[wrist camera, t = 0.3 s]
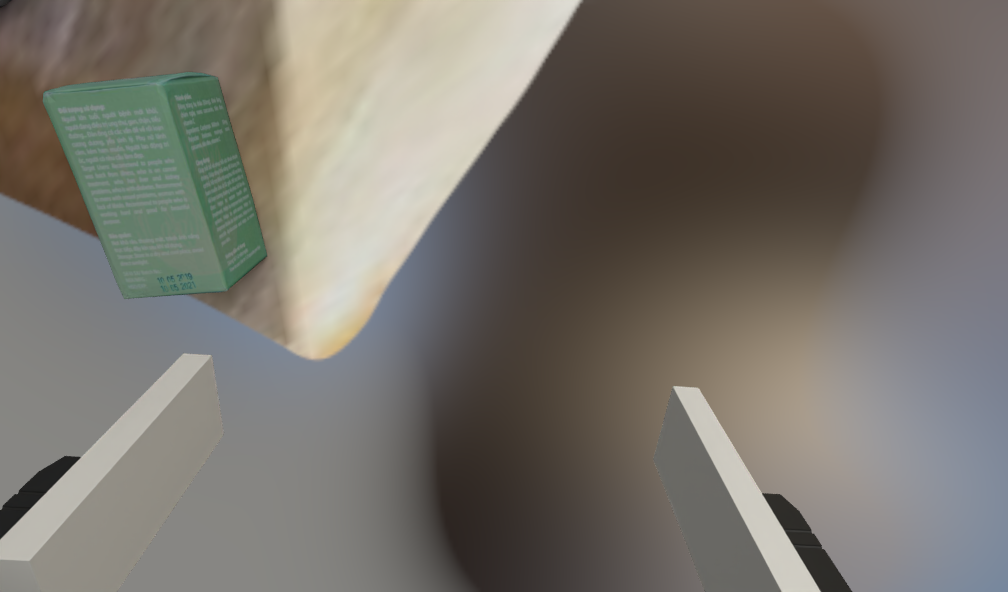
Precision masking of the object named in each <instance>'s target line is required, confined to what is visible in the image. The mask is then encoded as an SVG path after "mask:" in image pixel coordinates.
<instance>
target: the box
mask: <svg viewBox="0 0 1008 592" xmlns="http://www.w3.org/2000/svg"><path fill="white" fill-rule="evenodd" d="M43 103H44V106H45V108H46V110H47V112H48V115H49V117H50V119H51V122H52V124H53V126H54V129H55V131H56V133H57V136H58V138H59V141H60V143H61V145H62V148H63V150H64V153H65V155H66V157H67V160H68V162H69V165H70V167H71V169H72V172H73V174H74V177H75V179H76V182H77V184H78V187H79V189H80V192H81V194H82V197H83V199H84V202H85V204H86V207H87V209H88V212H89V214H90V217H91V219H92V222H93V224H94V226H95V229H96V231H97V234H98V236H99V239H100V242H101V244H102V247H103V249H104V252H105V254H106V257H107V259H108V262H109V264H110V267H111V270H112V272H113V275H114V277H115V280H116V282H117V284H118V286H119V288H120V291H121V292H122V295H123V297H124V299H129V298H142V297H157V296H170V295H185V294H199V293H214V292H224V291H227V290H228V289H229V288H230V287H232V286H233V285H234V284H235V283H236V282H237V281H239V280H240V279H241V278H242V277H243V276H244V275H246V274H247V273H248V272H249V271H250V270H251V269H253V268H254V267H255V266H256V265H257V264H258V263H260V262H261V261H262V260H263V259H264V258H265V257H267V253H266V249H265V245H264V241H263V237H262V233H261V229H260V225H259V221H258V217H257V213H256V210H255V206H254V202H253V198H252V195H251V191H250V188H249V184H248V181H247V178H246V174H245V171H244V167H243V164H242V160H241V157H240V153H239V150H238V147H237V143H236V140H235V136H234V133H233V130H232V126H231V123H230V120H229V116H228V112H227V109H226V105H225V102H224V98H223V94H222V91H221V87H220V84H219V80H218V77H215V76H211V75H208V74H203V73H194V72H185V73H178V74H169V75H159V76H150V77H140V78H130V79H120V80H110V81H101V82H91V83H82V84H75V85H67V86H63V87H59V88H55V89H51V90H48V91H45V92H44V94H43Z"/></svg>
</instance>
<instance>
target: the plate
mask: <svg viewBox="0 0 1008 592" xmlns="http://www.w3.org/2000/svg"><path fill="white" fill-rule="evenodd" d="M10 1H11V0H0V7H1V6H3V5H5V4H7V3H8V2H10Z"/></svg>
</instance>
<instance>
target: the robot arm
mask: <svg viewBox="0 0 1008 592" xmlns="http://www.w3.org/2000/svg"><path fill="white" fill-rule="evenodd" d="M223 435H224V432H223V425H222V419H221V413H220V405H219V399H218V392H217V386H216V379H215V373H214V367H213V359H212V355H199V354H183V355H181V357H180V358H179V359H178V360H177V361H176V362H175V363H174V364H173V365H172V366H171V367H170V368H169V369H168V370H167V371H166V372H165V373H164V374H163V375H162V376H161V377H160V378H159V379H158V380H157V381H156V382H155V383H154V384H153V385H152V386H151V387H150V388H149V389H148V390H147V391H146V392H145V393H144V394H143V395H142V396H141V397H140V398H139V399H138V400H137V401H136V402H135V404H133V405H132V406H131V407H130V408H129V409H128V410H127V411H126V412H125V413H124V414H123V415H122V416H121V417H120V419H119V420H118V421H117V422H116V423H115V424H114V425H113V426H112V427H111V428H110V429H109V430H108V431H107V432H106V433H105V434H104V435H103V436H102V437H101V438H100V439H99V440H98V441H97V442H96V443H95V444H94V445H93V446H92V447H91V448H90V449H89V450H88V451H87V452H86V453H85V454H84V455H83V456H82V457H71V456H64V457H63V458H61V459H59V460H58V461H56V462H54V463H53V464H51V465H49V466H47V467H46V468H44V469H43V470H41V471H39V472H38V473H37V474H36V475H35V476H34V477H33V478H31V479H30V481H28V482H27V483H26V484H25V485H24V486H23V487H22V488H21V489H20V490H19V493H18V494H15V495H14V496H13V497H12V498H10V499H9V500H8V502H6V503H5V504H4V505H3V508H2V510H0V592H117V591H118V590H119V588H120V587H121V585H122V584H123V582H124V581H125V579H126V578H127V576H128V575H129V574H130V572H131V571H132V569H133V568H134V566H135V565H136V563H137V562H138V560H139V559H140V557H141V556H142V554H143V553H144V551H145V550H146V548H147V547H148V545H149V544H150V543H151V541H152V540H153V538H154V537H155V535H156V534H157V532H158V530H159V529H160V528H161V526H162V525H163V523H164V522H165V520H166V519H167V517H168V516H169V514H170V513H171V511H172V510H173V509H174V507H175V506H176V504H177V503H178V501H179V500H180V498H181V497H182V495H183V494H184V492H185V491H186V489H187V488H188V486H189V485H190V483H191V482H192V481H193V479H194V477H195V476H196V475H197V473H198V471H199V470H200V469H201V467H202V466H203V464H204V463H205V461H206V460H207V459H208V457H209V456H210V454H211V453H212V451H213V450H214V448H215V447H216V445H217V444H218V442H219V441H220V439H221V438H222V436H223ZM653 460H654V463H655V465H656V468H657V470H658V473H659V476H660V478H661V480H662V483H663V486H664V488H665V491H666V493H667V496H668V499H669V501H670V504H671V506H672V509H673V511H674V514H675V517H676V519H677V522H678V524H679V527H680V529H681V532H682V534H683V537H684V539H685V542H686V545H687V547H688V550H689V552H690V555H691V557H692V560H693V563H694V565H695V568H696V570H697V573H698V575H699V578H700V581H701V583H702V586H703V588H704V591H705V592H852V591H851V589H850V588H849V586H848V585H847V583H846V582H845V580H844V579H843V577H842V576H841V574H840V573H839V571H838V569H837V568H836V567H835V565H834V563H833V562H832V560H831V559H830V557H829V556H828V555H827V553H826V551H825V550H824V549H822V547H821V546H822V545H821V544H820V542H819V541H818V539H817V538H816V536H815V535H814V534H812V532H811V529H810V527H809V525H808V524H807V522H806V521H805V519H804V518H803V516H802V515H801V513H800V512H799V511H798V510H797V509H796V508H795V507H794V506H793V505H792V504H790V503H789V502H788V501H787V500H786V499H785V498H784V497H783V496H782V495H780V494H764V493H761V492H760V490H759V488H758V486H757V485H756V483H755V481H754V480H753V478H752V476H751V475H750V473H749V471H748V470H747V468H746V466H745V465H744V463H743V461H742V460H741V458H740V456H739V455H738V453H737V451H736V450H735V448H734V446H733V445H732V443H731V441H730V440H729V438H728V436H727V435H726V433H725V431H724V430H723V428H722V427H721V425H720V423H719V422H718V420H717V418H716V416H715V415H714V413H713V411H712V410H711V408H710V407H709V405H708V403H707V402H706V400H705V398H704V397H703V395H702V393H701V391H700V390H699V388H691V387H676V386H673V388H672V391H671V395H670V399H669V403H668V406H667V410H666V414H665V418H664V421H663V425H662V429H661V433H660V436H659V440H658V444H657V448H656V451H655V455H654V459H653Z"/></svg>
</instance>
